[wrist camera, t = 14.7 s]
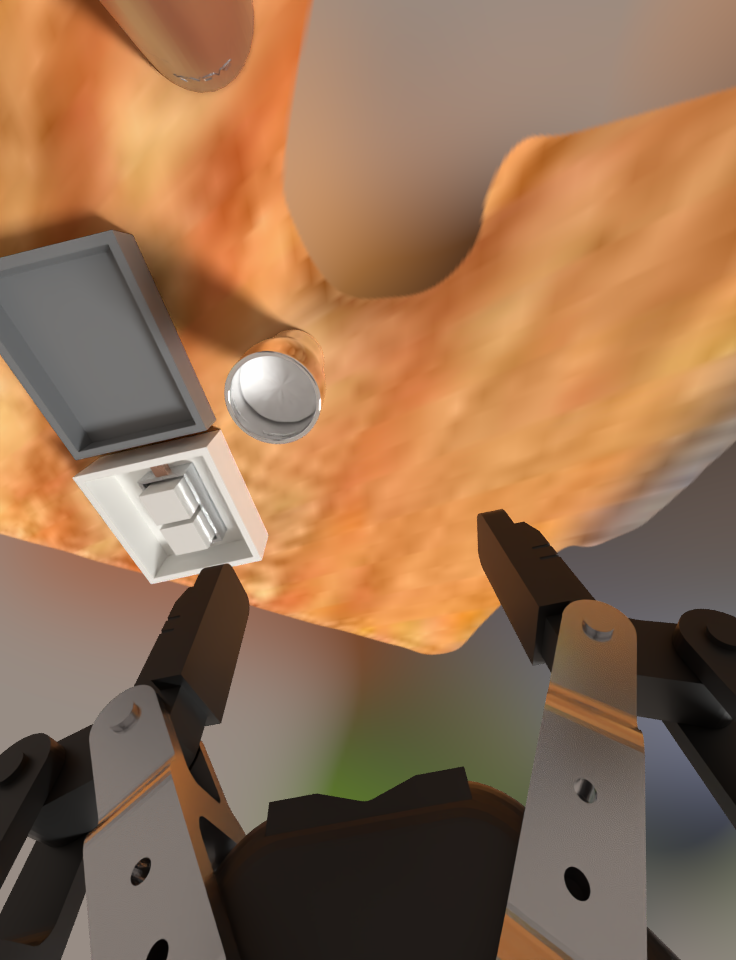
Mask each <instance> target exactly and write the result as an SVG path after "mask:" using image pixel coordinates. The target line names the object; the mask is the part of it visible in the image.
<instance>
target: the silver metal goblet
mask: <svg viewBox="0 0 736 960" xmlns="http://www.w3.org/2000/svg"><path fill="white" fill-rule="evenodd" d="M323 369H324V355H323V351H322V349H321V347H320V345H319V343H318V342H317V341H316V340H315V339H314V338H313V337H312V336H311V335H309V334H308V333H306V332H304V331H301V330H295V329H290V330H285V331H282V332H280V333H278V334H277V335H276V336H275V337H274V338H269V339H265V340H263V341H261V342H259V343H257V344H255V345H254V346H252V347H251V348H250V349H249V350H248V351H246V352H245V353H244V354H243V355H242V357H241V358H240V359H239V361H238V362H237V363H236V364H235V365H234V366H233V368H232V369H231V371H230V372H229V374H228V377H227V380H226V383H225V402H226V406H227V409H228V411H229V413H230V415H231V417H232V419H233V420H234V422H235V423H236V424H237V425H238V426H239V427H240V428H241V429H242V430H243V431H244V432H245V433H246V434H248V435H249V436H251V437H253V438H255V439H257V440H259V441H262V442H266V443H271V444H285V443H290V442H293V441H296V440H298V439H300V438H302V437H303V436H305V435H306V434H307V433H308V432H309V431H310V430H311V429H312V428H313V427H314V425H315V424H316V422H317V420H318V418H319V415H320V411H321V409H322V406H323V403H324V398H325V393H326V379H325V373H324V370H323Z"/></svg>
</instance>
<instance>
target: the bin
mask: <svg viewBox="0 0 736 960" xmlns="http://www.w3.org/2000/svg"><path fill="white" fill-rule="evenodd" d="M191 462H193V464H194V466H195V468H196V470H197V471H198V473H199V475H200V477H201V479H202V481H203V483H204V485H205V487H206V489H207V491H208V493H209V495H210V497H211V498H212V500H213V502H214V504H215V506H216V508H217V510H218V512H219V514H220V516H221V518H222V520H223V522H224V524H225V525H226V527H227V531H226V533H225V535H224V538H223V540H222V541H218V542H213V543H211V544H210V546H209V548H208V549H204V550H200V551H195V552H190V553H186V554H181V555H177V556H176V555H175V553H174V552H173V550H172V548H171V547H170V545H169V544H168V542H167V541H166V539H165V538H164V536H163V535H162V533H161V531H160V529H161V527H162V526H163V525H158V526H157V525H156V524H155V522H154V521H153V519H152V518H151V516H150V514H149V513H148V511H147V510H146V508H145V507H144V505H143V504H142V502H141V501H140V499H139V496H140V495H141V493H142V492H143V491H142V489H141V488H140V486H139V484H138V483H137V482H138V481H139V480H140V479H141V478H142V477H143V476H144V475H145V474H146V473H147V472H150V471H152V470H151V468H150V467H154V466H158V465H163V464H168V465H169V467H173V466H177V465H182V464H186V463H191ZM72 478H73V479H74V481H75V482H76V483H77V485H78V486H79V487H80V489H81V490H82V491H83V493H84V494H85V495H86V497H87V498H88V500H89V501H90V502H91V504H92V505H93V506H94V508H95V509H96V510H97V512H98V513H99V514H100V516H101V517H102V518H103V520H104V521H105V523H106V524H107V525H108V527H109V528H110V529H111V531H112V532H113V533H114V535H115V536H116V537H117V539H118V540H119V541H120V543H121V544H122V546H123V547H124V548H125V550H126V551H127V552H128V554H129V555H130V556H131V558H132V559H133V560H134V562H135V563H136V564H137V566H138V567H139V569H140V570H141V571H142V573H143V574H144V575H145V577H146V578H147V579H148V581H149V582H150V583H151V584H154V583H158V582H163V581H168V580H172V579H177V578H182V577H186V576H191V575H195V574H199V573H200V571H201V570H202V569H203V568H206V567H211V566H216V565H221V564H226V563H228V564H230V565H231V566H232V567H233V566H237V565H242V564H246V563H251V562H256V561H260V560H262V557H263V554H264V550H265V546H266V543H267V539H268V533H267V531H266V529H265V526H264V524H263V522H262V520H261V518H260V515H259V513H258V511H257V509H256V507H255V504H254V502H253V500H252V498H251V495H250V493H249V491H248V489H247V487H246V484H245V482H244V480H243V478H242V476H241V473H240V471H239V469H238V467H237V464H236V462H235V460H234V458H233V456H232V453H231V451H230V449H229V447H228V445H227V442H226V440H225V438H224V436H223V433H222V431H221V429H220V430H216V431H211V432H207V433H203V434H198V435H194V436H190V437H185V438H181V439H177V440H172V441H168V442H163V443H159V444H155V445H150V446H146V447H142V448H137V449H133V450H129V451H124V452H120V453H115V454H111V455H107V456H102V457H100V458H98V459H97V460H96V461H94V462H93V463H92V464H90V465H89V466H87V467H86V468H85V469H83V470H82V471H81V472H79V473H78V474H76V475H75V476H74V477H72Z"/></svg>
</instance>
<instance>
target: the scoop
mask: <svg viewBox="0 0 736 960" xmlns="http://www.w3.org/2000/svg"><path fill="white" fill-rule="evenodd" d="M150 468H151V470H152V471H150V472H147V473H146V474H145V475H144V476H143V477H142V478H141V479H140V480H139V481H138V482H137V483H138V484H139V486H140V488H141V489H142V491H144V490H145V489H146V488H147V487H148V486H149V485H150V484H151V483H152V482H156V481H160V480H165V479H169V478H174V477H178V476H184V478H185V480H186V482H187V483H188V485H189V487H190V489H191V491H192V493H193V494H194V496H195V498H196V500H197V502H198V504H199V505H200V507H201V509H202V511H203V513H204V515H205V516H206V518H207V520H208V522H209V524H210V525H211V527H212V529H213V531H214V533H215V535H214V537H213V539H212V542H211V543H213V542H218V541H222V540H223V538H224V535H225V533H226V531H227V527H226V525H225V524H224V522H223V520H222V518H221V516H220V514H219V512H218V510H217V508H216V506H215V504H214V502H213V500H212V498H211V497H210V495H209V493H208V491H207V489H206V487H205V485H204V483H203V481H202V479H201V477H200V475H199V473H198V471H197V470H196V468H195V466H194V464H193V462H191V463H186V464H182V465H177V466H173V467H169V465H168V464H163V465H158V466H154V467H150Z"/></svg>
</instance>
